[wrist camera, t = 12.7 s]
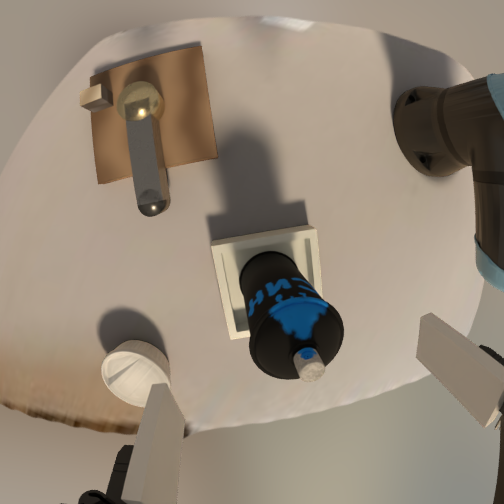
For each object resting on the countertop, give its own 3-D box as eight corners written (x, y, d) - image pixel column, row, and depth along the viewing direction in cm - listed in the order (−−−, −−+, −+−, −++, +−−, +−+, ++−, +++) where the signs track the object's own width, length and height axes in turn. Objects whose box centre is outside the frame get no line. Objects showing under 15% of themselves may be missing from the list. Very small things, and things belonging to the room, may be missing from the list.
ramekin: (112, 324, 38) (100, 341, 33) (180, 345, 40) (176, 364, 35) (110, 376, 40) (100, 394, 35) (170, 394, 42) (166, 415, 37)
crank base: (202, 52, 30) (199, 30, 24) (218, 157, 34) (216, 152, 28) (95, 81, 29) (77, 67, 23) (104, 184, 33) (83, 184, 27)
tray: (308, 224, 37) (316, 228, 34) (316, 310, 40) (323, 321, 37) (212, 240, 36) (211, 246, 33) (230, 327, 40) (230, 339, 36)
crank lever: (126, 97, 29) (115, 88, 25) (162, 87, 29) (155, 76, 25) (142, 216, 33) (132, 220, 29) (180, 208, 33) (174, 212, 29)
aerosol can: (303, 299, 39) (364, 391, 19) (246, 314, 38) (266, 421, 19) (293, 243, 36) (363, 307, 17) (232, 258, 36) (242, 341, 17)
